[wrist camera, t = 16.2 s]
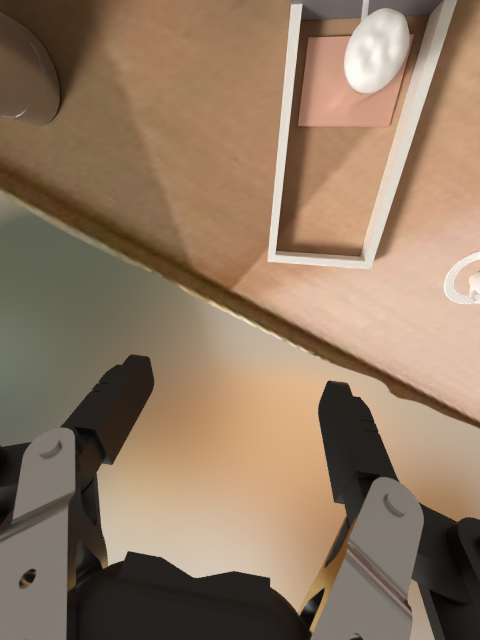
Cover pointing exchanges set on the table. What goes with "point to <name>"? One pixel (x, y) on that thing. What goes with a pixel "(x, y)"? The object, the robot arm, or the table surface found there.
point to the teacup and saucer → (476, 281)
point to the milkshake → (372, 55)
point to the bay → (372, 112)
